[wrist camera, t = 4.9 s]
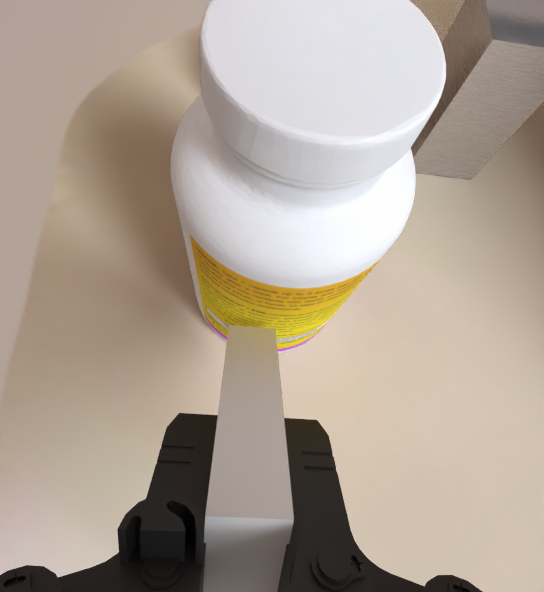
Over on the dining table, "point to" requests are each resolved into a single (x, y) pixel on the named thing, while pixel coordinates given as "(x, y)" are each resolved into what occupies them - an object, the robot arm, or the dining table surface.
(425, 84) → the supplement bottle
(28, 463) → the dining table surface
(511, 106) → the post
